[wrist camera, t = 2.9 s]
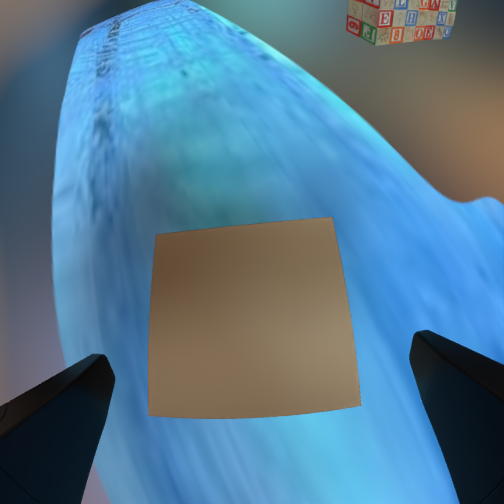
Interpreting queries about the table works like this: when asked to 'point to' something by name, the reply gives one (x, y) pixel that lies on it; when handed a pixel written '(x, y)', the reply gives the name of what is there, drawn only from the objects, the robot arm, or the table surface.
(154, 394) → the beech pillar
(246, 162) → the table surface
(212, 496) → the table surface
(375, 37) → the stack of blocks
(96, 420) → the robot arm
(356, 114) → the table surface
